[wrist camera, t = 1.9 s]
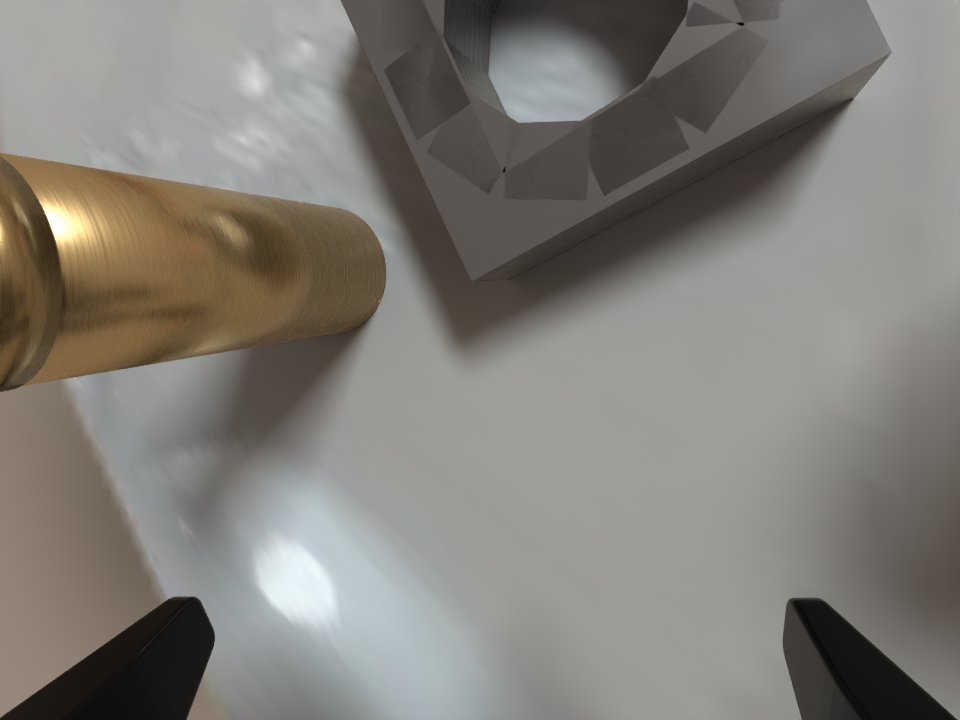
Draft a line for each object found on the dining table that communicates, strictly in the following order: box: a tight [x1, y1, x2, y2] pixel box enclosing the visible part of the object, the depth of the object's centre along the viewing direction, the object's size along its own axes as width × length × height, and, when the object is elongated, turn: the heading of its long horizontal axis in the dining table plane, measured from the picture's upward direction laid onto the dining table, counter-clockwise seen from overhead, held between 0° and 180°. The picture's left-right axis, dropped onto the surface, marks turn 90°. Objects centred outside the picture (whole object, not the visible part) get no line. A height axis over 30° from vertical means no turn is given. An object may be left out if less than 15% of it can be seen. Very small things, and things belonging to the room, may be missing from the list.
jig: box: [341, 0, 892, 281], centre depth 17 cm, size 11×11×4 cm
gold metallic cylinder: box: [0, 153, 386, 392], centre depth 17 cm, size 5×5×13 cm
